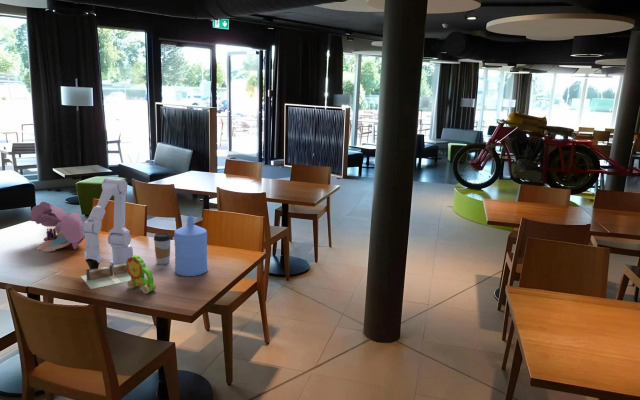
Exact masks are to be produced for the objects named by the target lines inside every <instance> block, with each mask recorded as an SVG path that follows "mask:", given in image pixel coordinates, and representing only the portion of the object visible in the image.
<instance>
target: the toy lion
mask: <svg viewBox="0 0 640 400" xmlns="http://www.w3.org/2000/svg"><path fill="white" fill-rule="evenodd" d="M126 269H127V271H128V274H129V275H130V276H131V280H130V281H128V282H126V283H127V287H128V288H129V289H134V288H135V287H141V291H142V293H143V294H144V295H147V294H149V293H150V292H155V291H156V290H157V285H156V284H155V283H154V275H153V273H152V270H151V269H150V268H148V267H147V265H146V263H145V262H144V260H143V258H141V257H140V255H134V254H133V256H131V257H130V258H128V259H127V261H126ZM145 276H146V277H145Z"/></svg>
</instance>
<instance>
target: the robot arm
mask: <svg viewBox="0 0 640 400" xmlns="http://www.w3.org/2000/svg"><path fill="white" fill-rule="evenodd" d="M101 189H102V190H101V194H100V196H99V199H98V201H97V204H96V205H95V206H93V208H92V209H91V212H90V214H89V216H88V218H86V219H87V220H85V221H83V224H82V228H81V229H82V232H83V234H84V236H85V238H84V240H85V241H84V242H85V244H84V245H85V251H83V258H84V259H85V262H86V264H87V265H88V269H90V270H92V269H97V268H99V267H100V263H101V264H102V263H103V257H102V254H101V253H100V252H101V251H100V239H99V236H100V235H99V233H100V231H101V230H102V223H103V222H102V221H103V219H104V217H105V215H106V209H105V208H106V207H107V205H108V203H109V201H110V200H111V199H112V196H113V198H114V199H113V200H114V202H113V203H114V204H113V227H112V228H111V229H110V230H109V231H108V235H107V243H108V245H110V247H111V252H112V255H111V256H112V260H110V261H109V262H110V263H111V264H112V266H114V265H119V264H125V263H126V261H127V259H128V258H130V257H131V256H134V251H133V246H132V244H131V242H132V241H131V240H132V238H131V232H130V231H131V230H129V229H128V228H127V227H126V199H127V194H128V182H127V181H126V180H125V179H124V178H110V177H105V178H104V179H103V181H102V184H101Z"/></svg>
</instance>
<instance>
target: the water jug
mask: <svg viewBox="0 0 640 400" xmlns="http://www.w3.org/2000/svg"><path fill="white" fill-rule="evenodd" d="M186 218H187V219H186V222H187V223H186V225H184V226H180V227H179V228H177V229H175V230H174V235H173V240H174V257H175V258H174V271H175V273H176V274H177V275H178V276H181V275H182V276H183V277H197V275H198V276H201V275H204V274H206V272H207V271H208V242H207V241H208V232H207V229H206V228H204V227H202V226H198V225H196V224H195V219H194V218H195V217H194V215H189V216H186ZM203 273H204V274H203Z"/></svg>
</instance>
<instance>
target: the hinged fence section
mask: <svg viewBox="0 0 640 400" xmlns="http://www.w3.org/2000/svg"><path fill="white" fill-rule="evenodd" d="M85 272H86V274H85V275H87V280H91V279H96V278H102V277H107V276H110V266H104V267H98V268H97V269H92V270H90V268H87V269H86V270H85Z"/></svg>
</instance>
